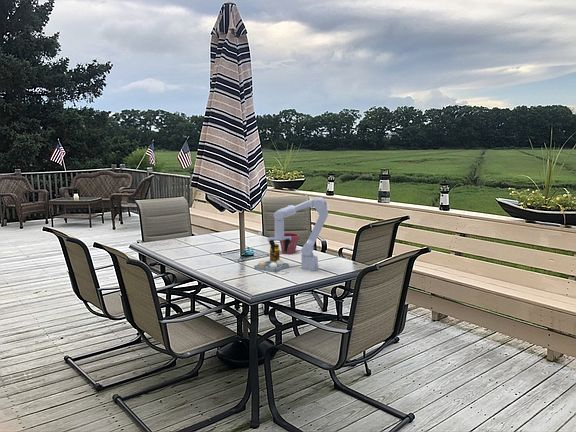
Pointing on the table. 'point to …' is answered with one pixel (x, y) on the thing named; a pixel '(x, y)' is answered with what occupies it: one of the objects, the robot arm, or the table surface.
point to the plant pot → (292, 243)
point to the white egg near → (279, 262)
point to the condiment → (275, 255)
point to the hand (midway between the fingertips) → (279, 252)
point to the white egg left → (273, 265)
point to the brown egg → (262, 264)
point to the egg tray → (271, 268)
